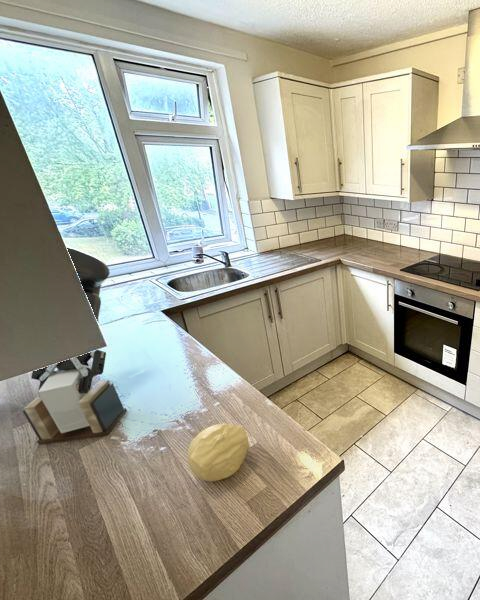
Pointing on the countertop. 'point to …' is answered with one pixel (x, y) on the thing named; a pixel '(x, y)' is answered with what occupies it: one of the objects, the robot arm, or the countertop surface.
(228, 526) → the countertop surface
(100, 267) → the robot arm
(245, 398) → the countertop surface
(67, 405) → the small box
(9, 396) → the countertop surface
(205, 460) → the yellow lumpy ball
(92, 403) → the book rack
